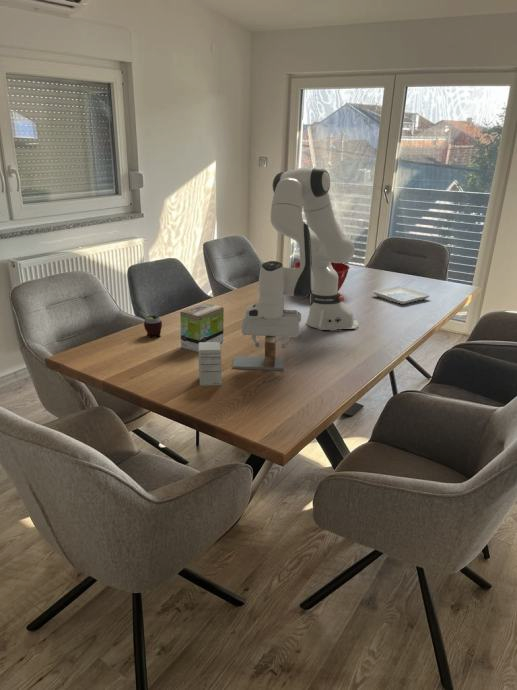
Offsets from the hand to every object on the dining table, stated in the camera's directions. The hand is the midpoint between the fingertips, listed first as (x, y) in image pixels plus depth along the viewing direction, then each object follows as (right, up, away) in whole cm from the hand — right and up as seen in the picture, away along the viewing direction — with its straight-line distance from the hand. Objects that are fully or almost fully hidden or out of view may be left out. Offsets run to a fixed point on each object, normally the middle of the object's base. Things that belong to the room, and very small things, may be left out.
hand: (270, 347), depth 187 cm
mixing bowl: (+28, +27, +90) cm, 98 cm away
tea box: (-26, +1, +20) cm, 33 cm away
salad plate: (+69, +24, +85) cm, 112 cm away
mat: (-4, -6, +3) cm, 8 cm away
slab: (0, -5, +2) cm, 6 cm away
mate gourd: (-46, +4, +28) cm, 55 cm away
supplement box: (-20, -11, -11) cm, 26 cm away
